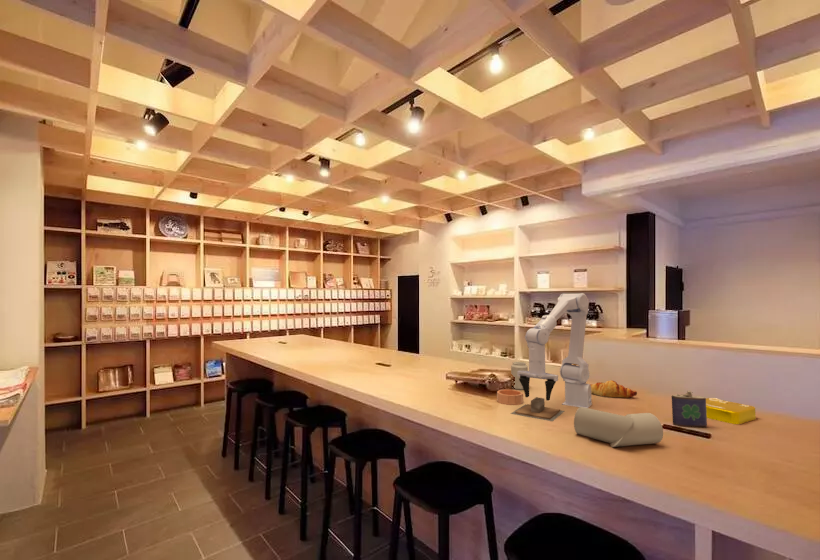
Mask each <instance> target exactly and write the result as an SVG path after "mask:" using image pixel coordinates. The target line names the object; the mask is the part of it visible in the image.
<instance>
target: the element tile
mask: <svg viewBox="0 0 820 560" xmlns="http://www.w3.org/2000/svg"><path fill="white" fill-rule="evenodd" d="M705 398H706V415H707V419H709V420H710V419H711V420H714V421H718V422H722V423H727V424H730V425H742V424H744V423H748V422H751V421H755V420H757V419H756V417H757V416H756V407H755V406H753V405H750V404H749V405H748V404H743V403H739V402H734V401H728V400H724V399H720V398H716V397H705Z"/></svg>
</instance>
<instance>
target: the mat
mask: <svg viewBox="0 0 820 560" xmlns="http://www.w3.org/2000/svg"><path fill="white" fill-rule="evenodd" d="M525 405H527V403H526V404H523V405H522V406H520V407H519V408H517V409H516V410H514V411H512V412H510V414H511V415H516V416H521V417H526V418H533V419H537V420H542V421H547V422H554V421H555V420H556V419H557V418H559V417H560V416H561V415H562V414H564V412H565V410H561V409H560V412H559V413H557V414H556V415H555V416H554V417H553V418H551V419H550V420H549V419H543V418H538V417H532V416H527V415H522V414H516V413H515V411H517V410H519V409H520V408H522V407H524V406H525Z"/></svg>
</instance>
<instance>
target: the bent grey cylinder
mask: <svg viewBox="0 0 820 560" xmlns="http://www.w3.org/2000/svg"><path fill="white" fill-rule="evenodd" d="M573 427H574V431H575V433H576V434H577V435H579V436H583V437H586V438H587V437H588V438H590V439H594V440H597V441H602V442H605V443H608V444H609V445H610V447H611V448H616V447H630V446H641V445H651V444H659V443H660V442H661V441H662V440H663V437H664V428H663V425H662V422H661V421H660V420H659V418H658V417H657V416H656V415H655V414H653V413H650V412H641V413H628V414H626V415H622V414H617V413H611V412H608V411H603V410H598V409H593V408H585V407H577V410H576V411H575V414H574V418H573Z"/></svg>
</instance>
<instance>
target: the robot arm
mask: <svg viewBox="0 0 820 560" xmlns="http://www.w3.org/2000/svg"><path fill="white" fill-rule="evenodd" d="M589 304H590V300H589V298H588V297H587V295H586V294H585V293H583V292H581V293H560V294H559V297H557V303H556V304H555V305H554V307H553V309H552V310H551V311H550V312H549V314H544V315H542V317H541V319H539V321H538V322H537V323H536V324H535V325H534V326H533V327H531V328H529V329H528V330H527V331H526V333H525V335H524V340H525V341H526V344H527V348H528V371H517V376H519V377H520V378H519V381H520V382H521V384H522V386H523V389H524V390H523V392H524V396H525V398H529V397H530V381H531V378H532V379H540V380H545V381H544V384H545V385H544V386H545V401H550V400H551V395H552V391H553V389H554V386H555V384H556V382H558V381H559V375H560V377H561V379H562V381H563V382H564V402H562V403H561V405H564V406H568V407H576V408H579V407H585V408H589V407H591V406H592V405H593V403H592V401H593V399H592V393H591V385H590V383H588V381H589V379H590V371H589V370H590V369H589V363H588V362H587V361H586V360H585V359H584V358H583V357H584V346H585V345H584V344H585V335H586V324H587V315H588V314H589V306H590V305H589ZM565 313H566V314H567V315H570V318H571V326H570V332H569V333H570V334H569V335H570V336H569V345H568V355H567V356H566V357H565V358H563V359H562V360H561V361H562V363H561V366H560V368H559V375H558V374H554V373H548V372H546V344H547V343H548V342H549V338H550V336H551V335H550V334H551V333H552V332H553V330H554V329H555V328H556V327H557V325H558V324H557V323H558V322H557V321H558V320H559V319H560V318H561V317H562V316H564V314H565ZM574 364H575V365H574ZM589 409H590V408H589Z"/></svg>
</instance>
